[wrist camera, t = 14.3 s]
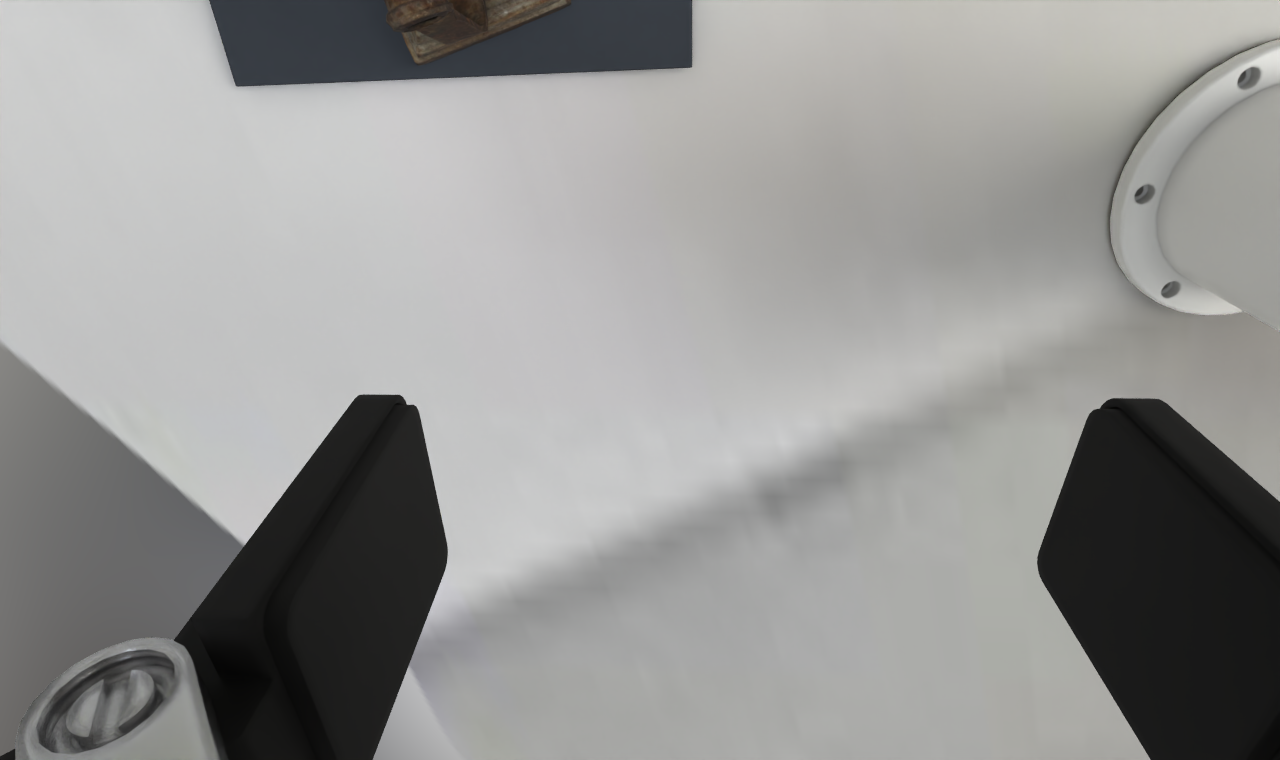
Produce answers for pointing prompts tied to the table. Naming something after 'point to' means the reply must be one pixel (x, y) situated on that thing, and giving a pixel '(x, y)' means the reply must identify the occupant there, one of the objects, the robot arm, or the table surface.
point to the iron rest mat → (371, 51)
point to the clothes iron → (460, 22)
